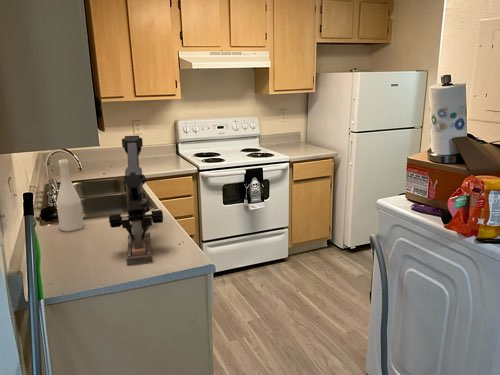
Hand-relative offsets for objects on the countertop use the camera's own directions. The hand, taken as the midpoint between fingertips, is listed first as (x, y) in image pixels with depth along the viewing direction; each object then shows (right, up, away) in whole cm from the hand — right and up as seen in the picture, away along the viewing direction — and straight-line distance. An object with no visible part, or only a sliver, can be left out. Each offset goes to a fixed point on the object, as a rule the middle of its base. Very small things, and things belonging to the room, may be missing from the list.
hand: (138, 240), depth 145 cm
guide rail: (-1, -5, +7) cm, 9 cm away
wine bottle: (-37, +1, +32) cm, 49 cm away
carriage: (0, -5, +3) cm, 5 cm away
